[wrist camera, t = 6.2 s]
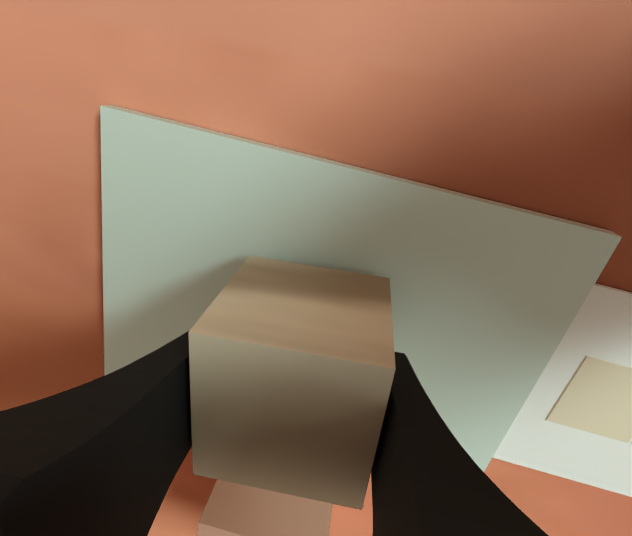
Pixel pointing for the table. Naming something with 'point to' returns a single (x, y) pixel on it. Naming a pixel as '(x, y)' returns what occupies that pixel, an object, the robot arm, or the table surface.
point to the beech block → (292, 380)
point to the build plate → (341, 258)
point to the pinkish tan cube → (261, 513)
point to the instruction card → (582, 400)
